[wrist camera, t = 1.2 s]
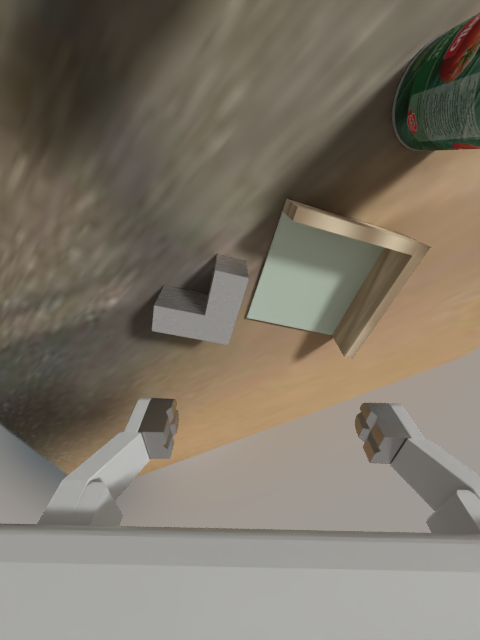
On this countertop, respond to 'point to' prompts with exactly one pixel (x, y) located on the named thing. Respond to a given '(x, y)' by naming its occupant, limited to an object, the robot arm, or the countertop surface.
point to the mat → (310, 277)
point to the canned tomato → (442, 93)
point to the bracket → (204, 305)
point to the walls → (382, 278)
